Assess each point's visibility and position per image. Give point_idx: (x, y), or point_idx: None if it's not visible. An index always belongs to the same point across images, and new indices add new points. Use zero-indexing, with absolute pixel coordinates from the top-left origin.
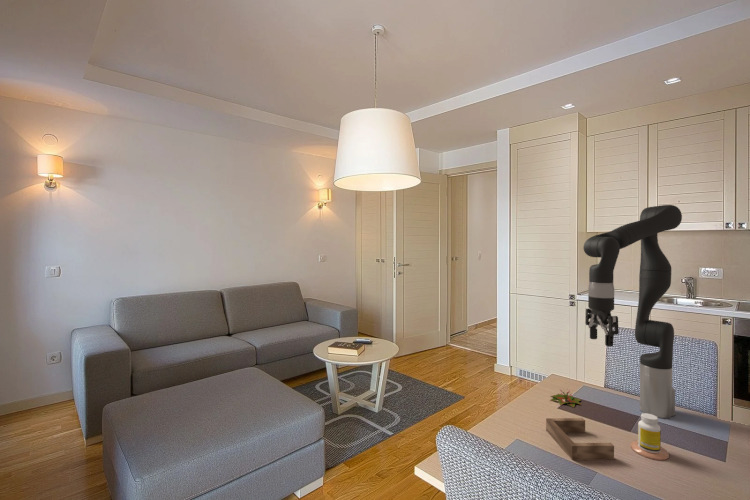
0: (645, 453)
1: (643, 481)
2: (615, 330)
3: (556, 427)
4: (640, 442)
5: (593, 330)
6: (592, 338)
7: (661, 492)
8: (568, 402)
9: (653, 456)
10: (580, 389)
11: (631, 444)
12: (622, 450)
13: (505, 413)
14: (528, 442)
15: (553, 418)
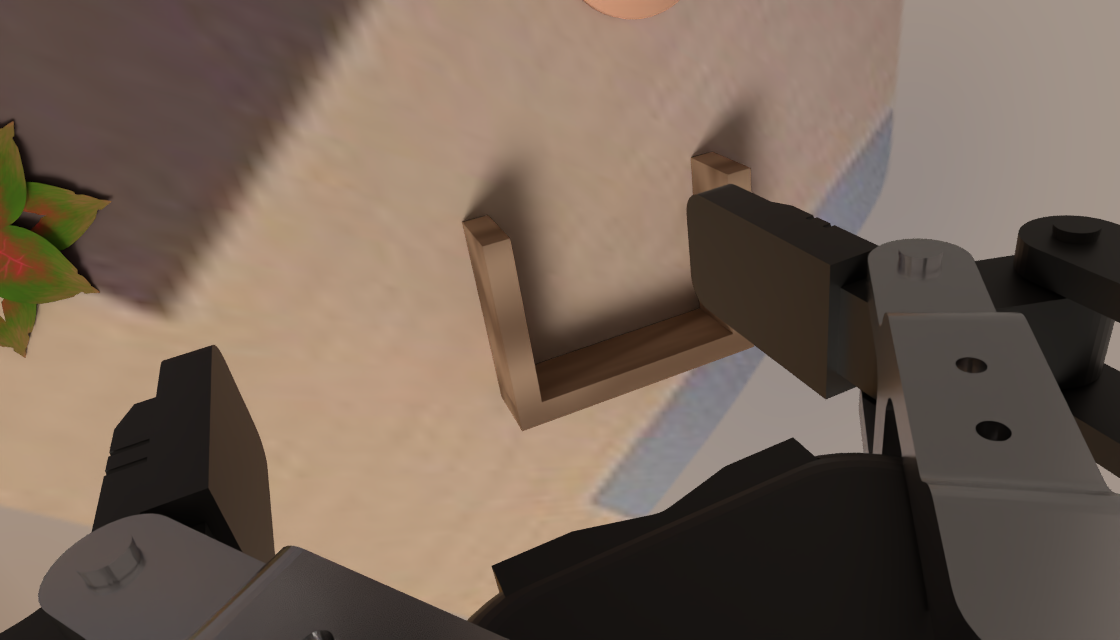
0: None
1: (840, 91)
2: (1100, 291)
3: (609, 390)
4: None
5: (255, 541)
6: (255, 433)
7: (894, 53)
8: (25, 229)
9: None
10: None
11: (604, 8)
12: (638, 77)
13: (356, 570)
14: (615, 462)
15: (515, 398)
